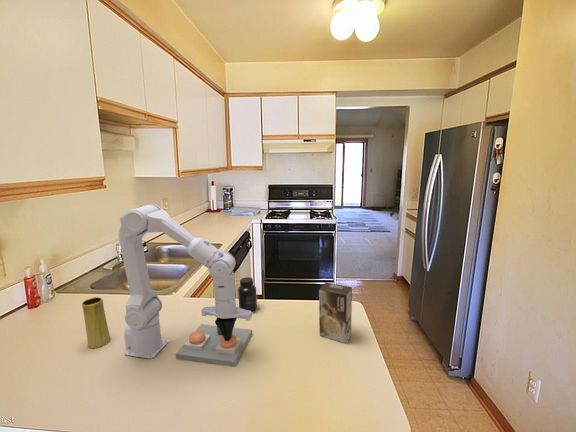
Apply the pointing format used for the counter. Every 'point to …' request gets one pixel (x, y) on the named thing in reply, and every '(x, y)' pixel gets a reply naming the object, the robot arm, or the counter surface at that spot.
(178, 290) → the counter surface
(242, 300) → the supplement bottle
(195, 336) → the knob
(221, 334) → the white domed button
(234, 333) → the mount board
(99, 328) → the vase
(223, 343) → the knob
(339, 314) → the coffee box
